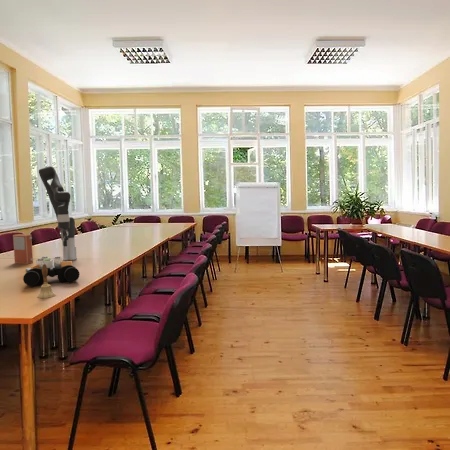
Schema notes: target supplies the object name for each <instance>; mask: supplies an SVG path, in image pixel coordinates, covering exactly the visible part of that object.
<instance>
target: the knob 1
mask: <svg viewBox="0 0 450 450" xmlns="http://www.w3.org/2000/svg"><path fill="white" fill-rule="evenodd" d="M35 263H36V264H35V265H31V266H30V267H29V268H31V269H33V268H38V269H42V267H43V264H45V260H44V259H41V258H37V259H36V262H35Z"/></svg>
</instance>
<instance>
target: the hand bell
mask: <svg viewBox="0 0 450 450" xmlns="http://www.w3.org/2000/svg"><path fill="white" fill-rule="evenodd" d="M42 274H43V277H44V284H42V285H40V291H39V294H38V295H37V299H47V298H52V297H55V296H56V293H55V292H54V291H53V290H52V289H53V288H52V285H51V284H49V283H48V276H47V274H48V269H47V266H46V264H43V267H42Z"/></svg>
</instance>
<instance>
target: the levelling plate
mask: <svg viewBox="0 0 450 450" xmlns="http://www.w3.org/2000/svg"><path fill="white" fill-rule="evenodd" d="M40 259H44V260H45V264H46V266H47V268H50V269H53V268H55V267H54V259H53V260H52V258H51V257H49V256H42V257H40ZM30 269H31V267H28V268H27V267H26V268H25V272H27V271H28V270H30Z"/></svg>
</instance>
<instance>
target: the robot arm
mask: <svg viewBox="0 0 450 450" xmlns="http://www.w3.org/2000/svg"><path fill="white" fill-rule="evenodd" d="M38 174H39V177H40V180H41V182H42V183H43V186H44V188H45V190H46V193H47V195H48V199H49V201H50V204H51V206H52V208H53V211H54V214H55V217H56V219H57V220H56V221H57V228H58V229H60V231H59V232H58V233H59V236H60V239H61V244H62V245H61V247H62V248H61V249H62V261H73V260H74V261H75V260H77V259H78V258H77V257H78V256H77V247H76V241H75V240H76V239H75V237H76V236H75V234H76V222H75V219H74V217H72V216H70V213H69V206H70V201H71V194H70V192H69V191H65V189H64V187H63V185H62V183H61V181H60V179H59V176H58V175H59V174H58V173H57V171H56V169H55V167H54V166H52V165H48V166H45V167H42V168H39V169H38ZM50 180H51V182H50V183H49V182H48V181H50Z"/></svg>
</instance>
